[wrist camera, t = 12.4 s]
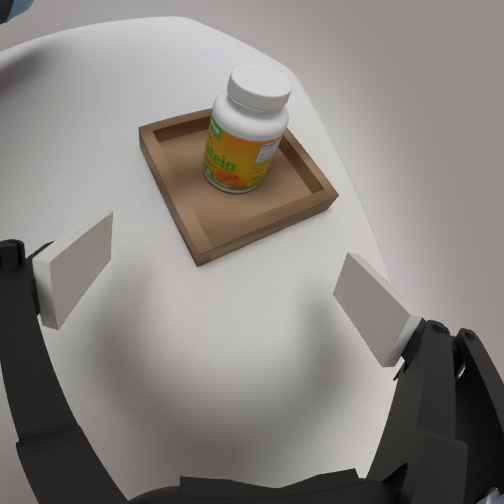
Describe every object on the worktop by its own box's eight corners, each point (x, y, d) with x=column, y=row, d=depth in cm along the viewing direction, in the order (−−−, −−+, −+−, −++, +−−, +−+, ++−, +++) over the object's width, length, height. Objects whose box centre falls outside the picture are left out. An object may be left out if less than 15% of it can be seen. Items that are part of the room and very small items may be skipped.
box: (140, 146, 24) (138, 127, 22) (256, 116, 29) (262, 99, 27) (197, 267, 21) (199, 254, 19) (326, 209, 26) (339, 195, 24)
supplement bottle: (189, 164, 23) (201, 68, 15) (234, 139, 26) (260, 53, 17) (232, 206, 23) (264, 113, 14) (275, 175, 25) (318, 91, 16)
